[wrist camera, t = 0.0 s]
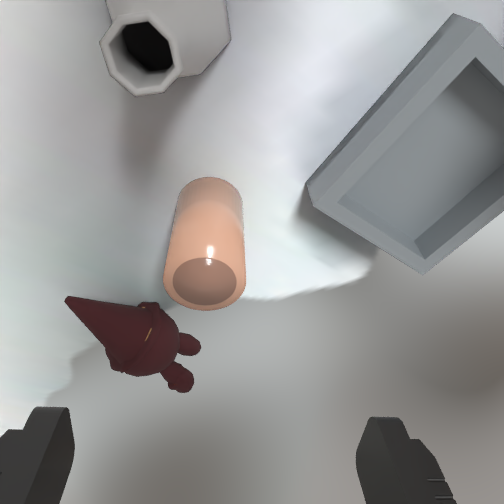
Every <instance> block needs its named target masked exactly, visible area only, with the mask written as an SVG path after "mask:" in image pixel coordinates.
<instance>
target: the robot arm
mask: <svg viewBox="0 0 504 504" xmlns="http://www.w3.org/2000/svg"><path fill="white" fill-rule="evenodd" d="M74 450H75V444H74V437H73V431H72V425H71V419H70V413H69V409H68V408H67V407H36V408H34V409H33V411H32V412H31V414H30V416H29V418H28V420H27V422H26V424H25V426H24V428H23V430H12V429H8V430H7V431H6V432H5V433H4V434H3V435H2V436H1V437H0V504H59V503H60V500H61V497H62V494H63V491H64V488H65V485H66V482H67V479H68V476H69V473H70V470H71V467H72V463H73V458H74ZM356 468H357V473H358V477H359V480H360V483H361V487H362V490H363V494H364V497H365V501H366V504H457V503H456V501H455V500H454V499H453V494H452V492H451V490H450V488H449V486H448V484H447V482H445V478H444V476H443V473H442V472H441V469H440V467H439V465H438V463H437V461H436V459H435V457H434V456H433V455H432V453H431V452H430V451H429V450H428V449H427V448H426V446H425V445H424V444H423V443H422V442H421V441H420V440H419V439H410V438H409V436H408V434H407V431H406V429H405V426H404V424H403V422H402V421H401V420H400V419H399V418H395V417H370V418H369V420H368V422H367V425H366V427H365V430H364V433H363V435H362V438H361V440H360V443H359V446H358V448H357V452H356Z"/></svg>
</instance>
